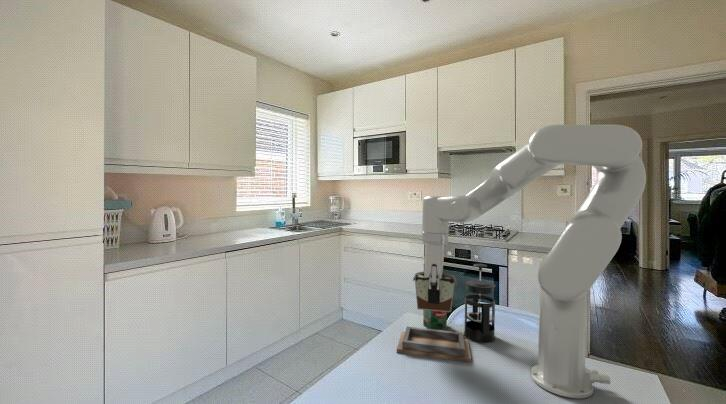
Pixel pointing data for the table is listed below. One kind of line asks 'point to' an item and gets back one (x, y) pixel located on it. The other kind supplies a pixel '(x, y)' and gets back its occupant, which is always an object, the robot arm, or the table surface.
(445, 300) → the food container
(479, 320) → the french press
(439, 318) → the canned tomato
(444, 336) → the wooden tray
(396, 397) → the table surface
